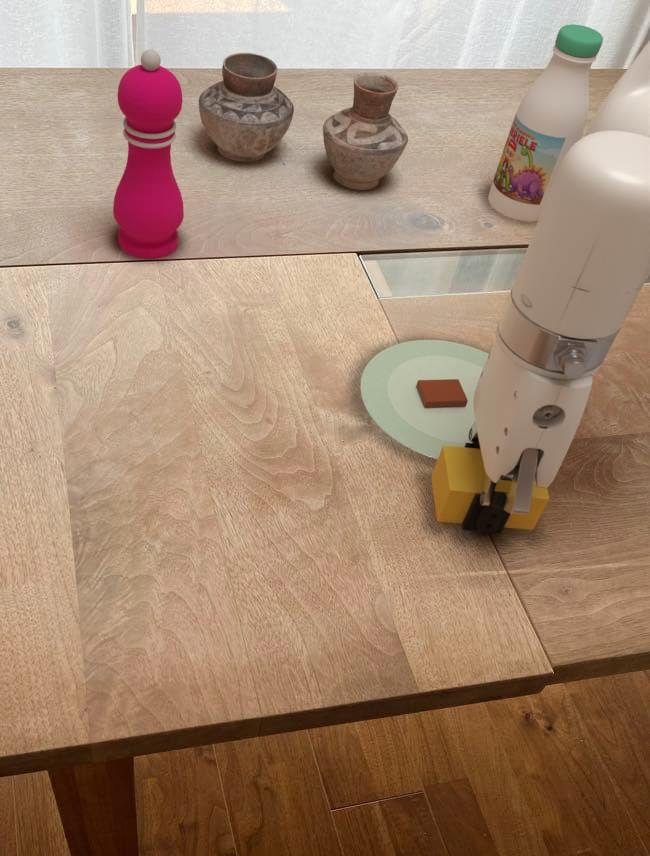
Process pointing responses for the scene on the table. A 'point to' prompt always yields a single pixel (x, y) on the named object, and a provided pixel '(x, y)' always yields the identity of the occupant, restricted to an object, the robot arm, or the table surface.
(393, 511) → the table surface
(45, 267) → the table surface
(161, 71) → the pepper mill
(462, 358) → the plate
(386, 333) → the table surface
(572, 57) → the milk bottle
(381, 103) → the pottery
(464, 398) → the block
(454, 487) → the sponge
